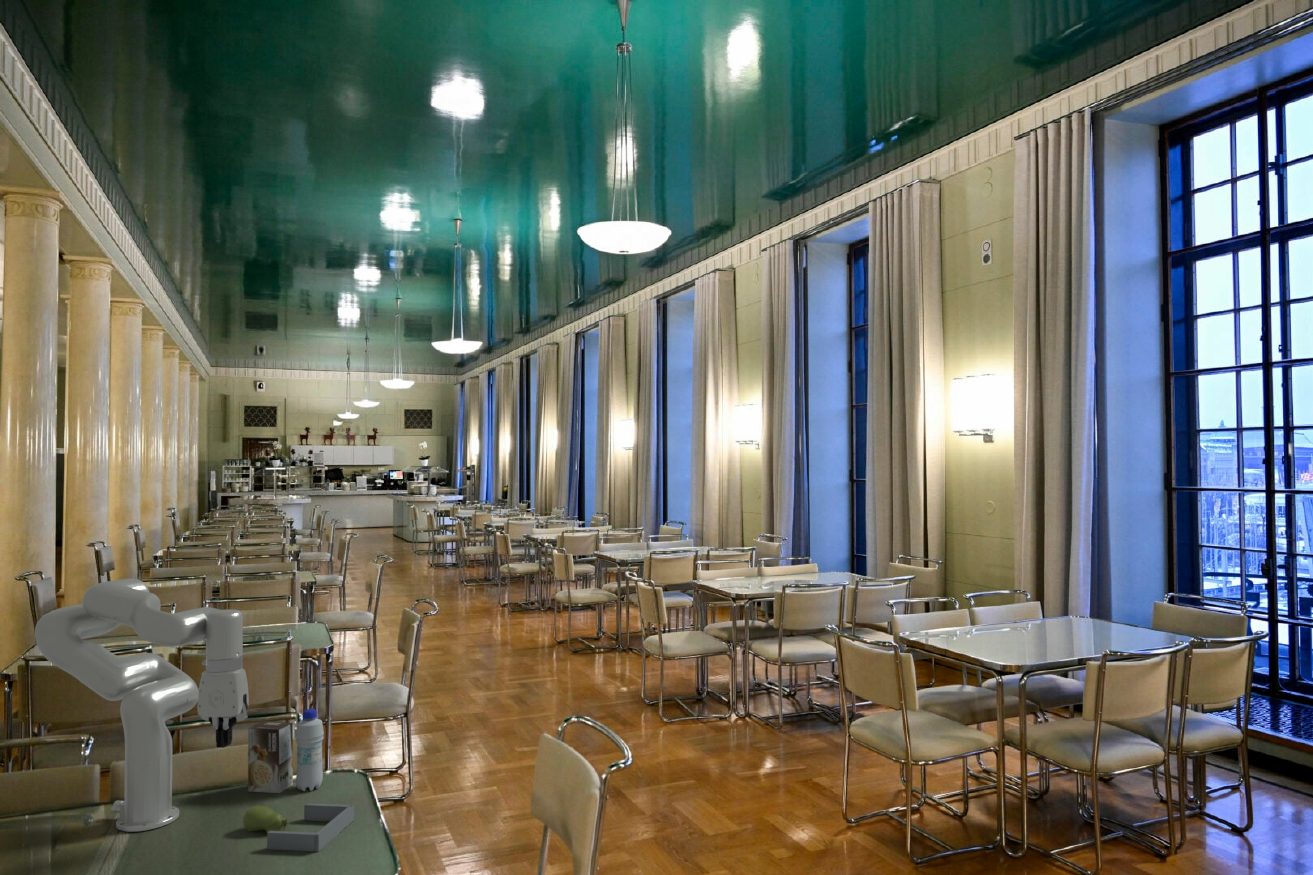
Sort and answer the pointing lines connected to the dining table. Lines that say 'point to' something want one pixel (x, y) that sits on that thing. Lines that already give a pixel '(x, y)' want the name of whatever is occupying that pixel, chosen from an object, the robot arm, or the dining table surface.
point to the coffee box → (270, 757)
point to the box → (313, 841)
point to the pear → (263, 819)
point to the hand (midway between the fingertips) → (224, 745)
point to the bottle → (309, 751)
